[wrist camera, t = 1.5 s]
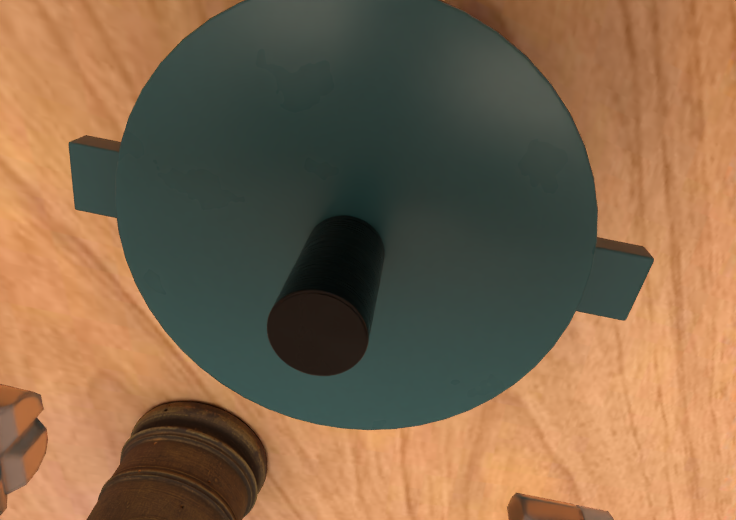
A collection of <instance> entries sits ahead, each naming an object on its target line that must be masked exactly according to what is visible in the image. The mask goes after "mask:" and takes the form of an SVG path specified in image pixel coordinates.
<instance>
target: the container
mask: <svg viewBox="0 0 736 520" xmlns="http://www.w3.org/2000/svg"><path fill="white" fill-rule="evenodd" d="M266 473H267V460H266V454H265V451H264V448H263V446H262V444H261V442H260V440H259V439H258V437H257V436H256V435H255V434H254V433H253V431H252V430H251V429H250V428H249V427H248V426H247V425H245V424H244V423H243V422H242V421H240V420H239V419H238V418H236V417H235V416H233V415H231V414H229V413H227V412H225V411H223V410H221V409H218V408H216V407H213V406H210V405H206V404H201V403H196V402H173V403H168V404H164V405H160V406H158V407H156V408H154V409H152V410H150V411H149V412H148V413H146V414H145V415H144V416H143V417H142V418H141V419H140V420H139V421H138V422H137V423H136V425H135V427H134V429H133V431H132V434H131V438H130V439H129V440H128V441H127V442H126V443H125V445H124V447H123V449H122V452H121V459H120V465H119V467H118V468H117V470H116V471H115V473H114V474H113V476H112V477H111V478H110V479H109V480H108V481H107V482H106V484H105V485H104V486H103V488H102V490H101V493H100V495H99V498H98V502H97V504H96V505H95V507H94V508H93V510H92V512H91V513H90V515H89V517H88V518H87V520H242V519H243V518H244V517H245V516H246V515H247V514H248V513H249V512H250V511H251V509H252V508H253V506H254V504H255V502H256V499H257V494H258V493H259V491H260V490H261V488H262V486H263V484H264V481H265V478H266Z"/></svg>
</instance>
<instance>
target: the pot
mask: <svg viewBox="0 0 736 520" xmlns="http://www.w3.org/2000/svg"><path fill="white" fill-rule="evenodd" d="M120 144H121V142H117V141H112V140H107V139H102V138H97V137H92V136H87V135H86V136H83V137H80V138H78V139H76V140H73V141H71V142H69V153H70V163H71V173H72V183H73V193H74V204H75V209H76V210H80V211H85V212H90V213H95V214H100V215H105V216H110V217H115V218H117V214H116V207H115V175H116V168H117V162H118V155H119V149H120ZM653 262H654V258H653V257H652V256H651V255H650V253H649V252H648V251H647V250H646V249H645V247H643V246H638V245H633V244H628V243H623V242H618V241H613V240H608V239H603V238H598V237H597V243H596V248H595V254H594V259H593V265H592V270H591V273H590V276H589V279H588V282H587V285H586V288H585V291H584V294H583V297H582V299H581V301H580V303H579V305H578V307H577V309H576V311H579V312H584V313H589V314H594V315H599V316H604V317H608V318H613V319H618V320H626V318H627V316H628V314H629V312H630V310H631V308H632V306H633V304H634V302H635V300H636V297H637V295H638V293H639V291H640V289H641V287H642V285H643V283H644V281H645V278H646V276H647V274H648V272H649V270H650V268H651V266H652V264H653Z"/></svg>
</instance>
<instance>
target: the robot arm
mask: <svg viewBox="0 0 736 520" xmlns="http://www.w3.org/2000/svg"><path fill="white" fill-rule="evenodd" d="M43 410H44V409H43V404H42V399H41V395H40V394H37V393H35V392H32V391H27V390H23V389H19V388H15V387H11V386H6V385H2V384H0V515H1V514H2V513H3V512H4V511H5V509H6V508H7V494H9V493H11V492H13V491H15V490H17V489H19V488H21V487H23V486H25V485H26V484H27V483H28V482H29V480H30V479H31V478H32V477H33V475H34V474H35V473H36V472H37V470H38V469H39V466H40V464H41V462H42V460H43V458H44V456H45V454H46V449H47V443H48V436H47V429H46V428H45V427H44V425H43V424H42V423H41V422H40V421H39V420H38V418H37V416H38V415H39V414H40V413H41V412H42V411H43ZM507 510H508V517H509V520H614V519H613V517H612V516H611V515H610V513H609V512H608V511H603V510H598V509H594V508H589V507H584V506H579V505H574V504H571V503H566V502H561V501H555V500H550V499H545V498H540V497H535V496H530V495H525V494H520V493H516V494H515V495H514V496H512V498H511V500H510V502H509V504H508V507H507Z"/></svg>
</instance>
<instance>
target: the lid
mask: <svg viewBox="0 0 736 520" xmlns="http://www.w3.org/2000/svg"><path fill="white" fill-rule="evenodd" d="M115 207H116V214H117V222H118V230H119V235H120V239H121V243H122V246H123V250H124V254H125V258H126V261H127V263H128V266H129V268H130V271H131V273H132V276H133V278H134V281H135V283H136V285H137V287H138V289H139V291H140V293H141V295H142V296H143V298H144V300H145V302H146V304H147V306H148V307H149V309H150V310H151V312H152V313H153V315H154V316H155V318H156V319H157V320H158V322H159V323H160V325H161V326H162V328H163V329H164V330H165V332H166V333H167V334H168V335H169V336H170V337H171V338H172V340H173V341H174V342H175V343H176V344H177V345H178V346H179V348H180V349H181V350H182V351H183V352H184V353H185V354H186V355H188V356H189V357H190V358H191V359H192V360H193V361H194V362H195V363H196V364H197V365H198V366H199V367H200V368H202V369H203V370H204V371H206V372H207V373H208V374H210V375H211V376H212V377H214V378H215V379H216V380H218V381H219V382H220V383H222V384H223V385H225V386H226V387H228V388H230V389H231V390H233V391H235V392H236V393H238V394H240V395H241V396H243V397H244V398H247V399H249V400H251V401H253V402H255V403H257V404H259V405H261V406H263V407H265V408H267V409H270V410H273V411H275V412H278V413H281V414H283V415H286V416H289V417H292V418H295V419H299V420H303V421H307V422H310V423H314V424H319V425H325V426H331V427H337V428H345V429H361V430H381V429H398V428H405V427H412V426H419V425H423V424H427V423H431V422H435V421H439V420H443V419H447V418H449V417H452V416H455V415H458V414H460V413H463V412H466V411H468V410H471V409H473V408H475V407H477V406H479V405H481V404H483V403H485V402H487V401H489V400H491V399H493V398H494V397H496V396H497V395H499V394H500V393H502V392H503V391H505V390H506V389H508V388H509V387H511V386H512V385H514V384H515V383H516V382H518V381H519V380H520V379H521V378H522V377H524V376H525V375H526V374H527V373H528V372H529V371H531V370H532V369H533V368H534V367H535V366H536V365H537V364H538V363H539V362H540V361H541V360H542V359H543V357H544V356H545V355H546V354H547V353H548V352H549V351H550V350H551V349H552V348H553V346H554V345H555V344H556V342H557V341H558V339H559V338H560V336H561V335H562V333H563V332H564V331H565V329H566V328H567V326H568V325H569V323H570V321H571V319H572V317H573V315H574V313H575V311H576V309H577V307H578V305H579V303H580V301H581V299H582V297H583V294H584V291H585V288H586V285H587V282H588V279H589V276H590V273H591V270H592V265H593V259H594V254H595V248H596V243H597V218H598V208H597V200H596V191H595V183H594V177H593V173H592V170H591V166H590V162H589V159H588V155H587V152H586V148H585V145H584V143H583V141H582V138H581V136H580V134H579V132H578V130H577V127H576V125H575V123H574V121H573V118H572V116H571V114H570V112H569V111H568V109H567V108H566V106H565V105H564V103H563V102H562V100H561V99H560V97H559V96H558V94H557V92H556V91H555V89H554V88H553V86H552V85H551V83H550V82H549V81H548V80H547V79H546V78H545V77H544V75H543V74H542V73H541V72H540V71H539V70H538V69H537V67H536V66H535V65H534V64H533V63H532V62H531V61H530V60H529V58H528V57H527V56H526V55H525V54H523V53H522V52H521V51H520V50H519V49H517V48H516V47H515V46H514V45H513V44H511V43H510V42H509V41H508V40H507V39H506V38H504V37H503V36H502V35H501V34H500V33H498V32H497V31H496V30H494V29H493V28H491V27H489V26H488V25H486V24H484V23H483V22H481V21H480V20H478V19H476V18H475V17H473V16H472V15H470V14H468V13H467V12H465V11H463V10H461V9H459V8H456V7H454V6H452V5H450V4H447V3H445V2H443V1H440V0H244V1H242V2H240V3H238V4H236V5H234V6H232V7H230V8H229V9H227V10H225V11H223V12H221V13H219V14H217V15H216V16H214V17H212V18H210V19H209V20H208V21H206V22H205V23H204V24H202V25H201V26H200V27H198V28H197V29H196V30H194V31H193V32H192V33H190V34H189V35H188V36H187V37H185V38H184V39H183V40H182V41H181V42H180V43H179V44H178V45H177V46H176V47H175V48H174V49H173V50H172V51H171V52H170V53H169V54H168V56H167V57H166V58H165V59H164V60H163V61H162V62H161V63H160V64H159V66H158V67H157V69H156V70H155V72H154V73H153V74H152V76H151V77H150V79H149V80H148V82H147V83H146V85H145V86H144V87H143V89H142V91H141V93H140V95H139V97H138V99H137V101H136V103H135V105H134V107H133V109H132V112H131V114H130V116H129V118H128V122H127V125H126V128H125V131H124V135H123V138H122V141H121V144H120V149H119V155H118V162H117V168H116V175H115Z"/></svg>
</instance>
